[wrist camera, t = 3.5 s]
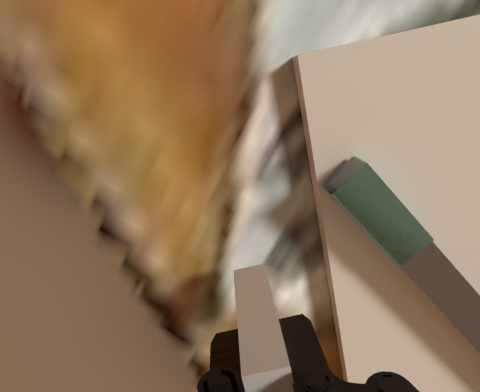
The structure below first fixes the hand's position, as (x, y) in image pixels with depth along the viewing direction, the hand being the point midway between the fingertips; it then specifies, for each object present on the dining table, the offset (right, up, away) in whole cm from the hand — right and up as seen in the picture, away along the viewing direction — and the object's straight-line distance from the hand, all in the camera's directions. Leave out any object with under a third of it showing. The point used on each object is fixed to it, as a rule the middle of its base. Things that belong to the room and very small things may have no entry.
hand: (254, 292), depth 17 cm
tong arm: (+10, 0, +2) cm, 10 cm away
